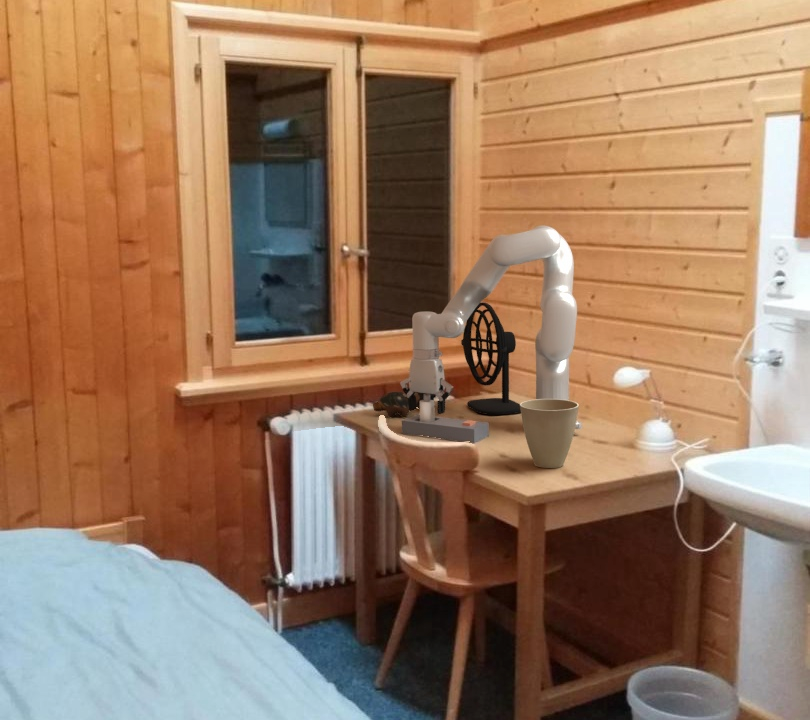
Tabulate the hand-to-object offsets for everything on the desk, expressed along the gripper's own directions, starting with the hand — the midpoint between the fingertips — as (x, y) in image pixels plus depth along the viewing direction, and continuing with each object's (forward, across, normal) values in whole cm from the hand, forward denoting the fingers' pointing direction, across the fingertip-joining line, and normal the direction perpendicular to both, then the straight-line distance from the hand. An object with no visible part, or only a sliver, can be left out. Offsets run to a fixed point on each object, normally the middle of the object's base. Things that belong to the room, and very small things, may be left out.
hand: (426, 411), depth 287 cm
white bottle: (+6, 0, 0) cm, 6 cm away
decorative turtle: (+7, +20, -15) cm, 26 cm away
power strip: (+6, -6, 0) cm, 9 cm away
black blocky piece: (+7, +16, -26) cm, 31 cm away
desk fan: (+6, -3, -37) cm, 38 cm away
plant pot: (+6, -45, +15) cm, 48 cm away
